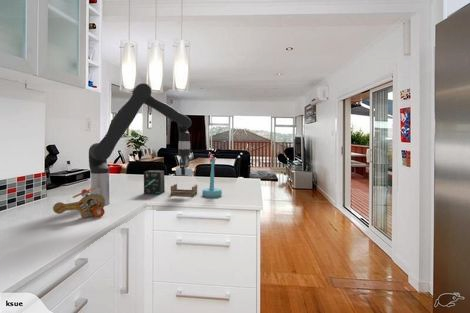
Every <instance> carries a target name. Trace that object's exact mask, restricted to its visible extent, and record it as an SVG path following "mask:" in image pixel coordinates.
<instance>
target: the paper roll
mask: <svg viewBox="0 0 470 313" xmlns="http://www.w3.org/2000/svg"><path fill="white" fill-rule="evenodd" d="M193 174H194V168H193V167H188V168H185V175H183V176H187V177H188V176H193ZM175 175H176V176H182V175H181V168H180V166H177V167H176V168H175Z"/></svg>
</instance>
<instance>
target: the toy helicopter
mask: <svg viewBox="0 0 470 313" xmlns="http://www.w3.org/2000/svg"><path fill="white" fill-rule="evenodd" d="M90 188H91V187H90ZM90 188H89V189H86V188H84V189H82V190H81V192H80V193H77V194H75V195H73V196H72V199H74V198H77V197H80V196H82V198H81V199H80V200H78V201H75V202H69V203H64V202H62V201H61V202H60V201H59V202H56V203H54V205H53V206H52V211H53V212H54V213H55V214H57V215H61V214H64V213H65V212H66V211H67V212H69V211H79V213H80V217H81V218H82V219H86V218H87V217H89V216H90V217H91V216H93V217H94V218H102V217H104V214H105V206H106V205H105V199H104V197H103V196H102V195H100V194H90V190H93V189H96V188H97V187H94V188H91V189H90ZM91 198H95V199H96V201H97V202H98V203H100V205H99V204H98V203H96V201H95V199H91Z"/></svg>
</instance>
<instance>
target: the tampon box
mask: <svg viewBox="0 0 470 313" xmlns="http://www.w3.org/2000/svg"><path fill="white" fill-rule="evenodd" d="M165 184H166V182H165V170H145V171H143V194H144V195H162V194H163V193H165V192H166V190H165V188H166V187H165Z"/></svg>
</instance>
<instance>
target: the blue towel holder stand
mask: <svg viewBox="0 0 470 313" xmlns="http://www.w3.org/2000/svg"><path fill="white" fill-rule="evenodd" d="M215 165H216V160H215V157H214V156H213V157H212V160H211V163H210V166H211V167H210V168H211V169H210V175H209V177H210V181H209V187H208V188H203V189H202V192H201V194H202V197H204V198H219V197H221V196H222V194H223V193H222V189H220V188H216V187H215Z"/></svg>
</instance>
